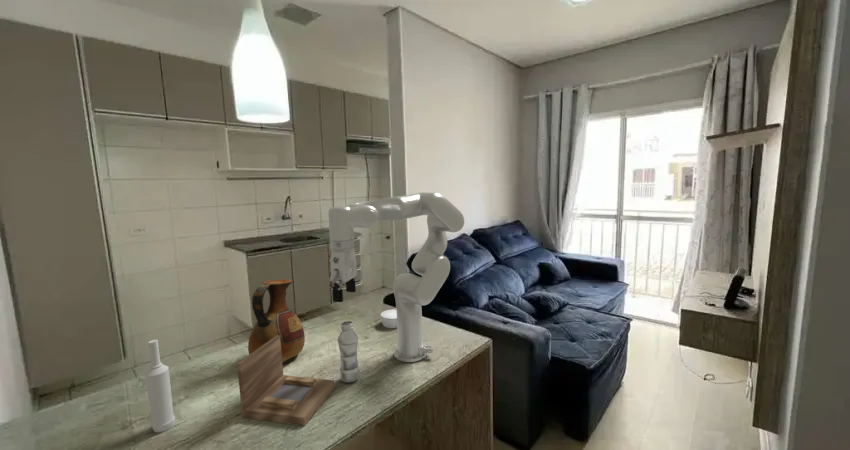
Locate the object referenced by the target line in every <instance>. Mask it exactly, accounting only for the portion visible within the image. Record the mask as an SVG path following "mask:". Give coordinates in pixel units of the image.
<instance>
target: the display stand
mask: <svg viewBox="0 0 850 450" xmlns="http://www.w3.org/2000/svg"><path fill="white" fill-rule="evenodd" d="M283 365H284V364H283V362H282V353H281V341H280V335H276V336H275V337H274V338H272V339H271V340H269V341H268V342H267V343H265V344H264V345H262V346H261V347H260V348H258V349H257V350H255V351H254V352H252V353H251V354H250V355H249V354H248V355H247V356H245V357H244V358H243V359H241V360H240V361H238V362H237V363H236V367H237V368H236V369H237V377H238V378H237V379H238V386H239V387H238V388H239V398H240V408H241V409H240V415H241V418H243V419H251V420H258V421H265V422H272V423H273V422H274V423H281V424H286V425H296V426H302V427H306V426H307V424H308V423H309V421H311V419H312V418H313V416H315V414H316V412H317V411H318V410H319V408H320V407H322V405H323V404H324V402H325V401H326V400H327V398H328V397H329V396H330V395H331V394H332V392H333V391H334V389H335V388H336V383H335V380H334V379H333V380H332V379H324V378H313V377H305V376H297V375H296V376H294V375H285V374H284V368H283V367H284V366H283Z"/></svg>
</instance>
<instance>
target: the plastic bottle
mask: <svg viewBox="0 0 850 450" xmlns="http://www.w3.org/2000/svg"><path fill="white" fill-rule="evenodd" d="M340 326H341V327H340V328H341V329H340V330H341V332H340V333H339V335H338V337H337V342H338V343H337V344H338V347H339V348H338V350H339V355H340V357H339V358H340V363H339V364H340V366H339V367H340V368H339V371H338V372H339V373H338V376H339V379H340V381H341V382H343V383H347V384H349V383H350V384H351V383H354V382H355V381H357V380H358V378H359V376H360V372H361V371H360V366H359V362H358V360H359V359H358V344H359V343H358V341H359V336H358V334H357V332H356V331H355V330H354V323H353V321H351V320H346V321H343V322H341V323H340Z"/></svg>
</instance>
